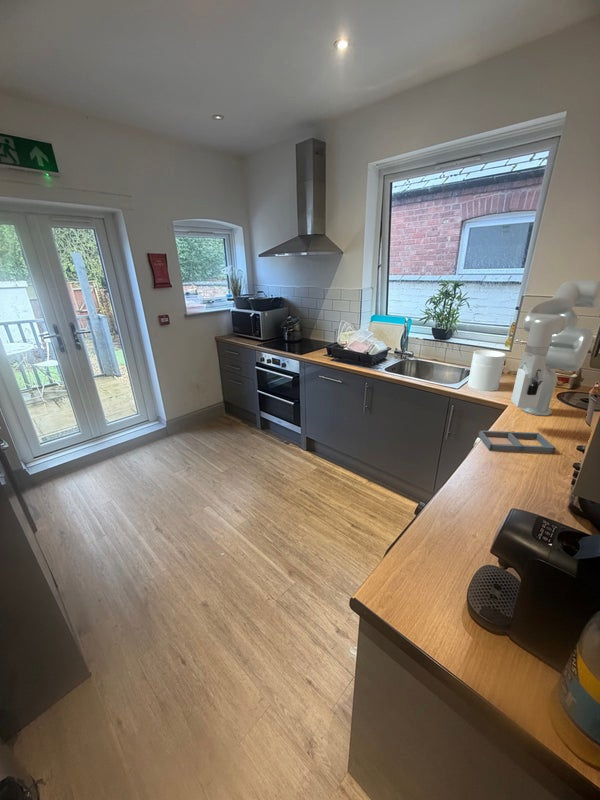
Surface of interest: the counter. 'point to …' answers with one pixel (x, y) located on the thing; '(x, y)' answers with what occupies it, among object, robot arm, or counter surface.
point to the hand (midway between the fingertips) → (526, 390)
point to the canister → (486, 370)
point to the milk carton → (525, 390)
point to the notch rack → (514, 442)
